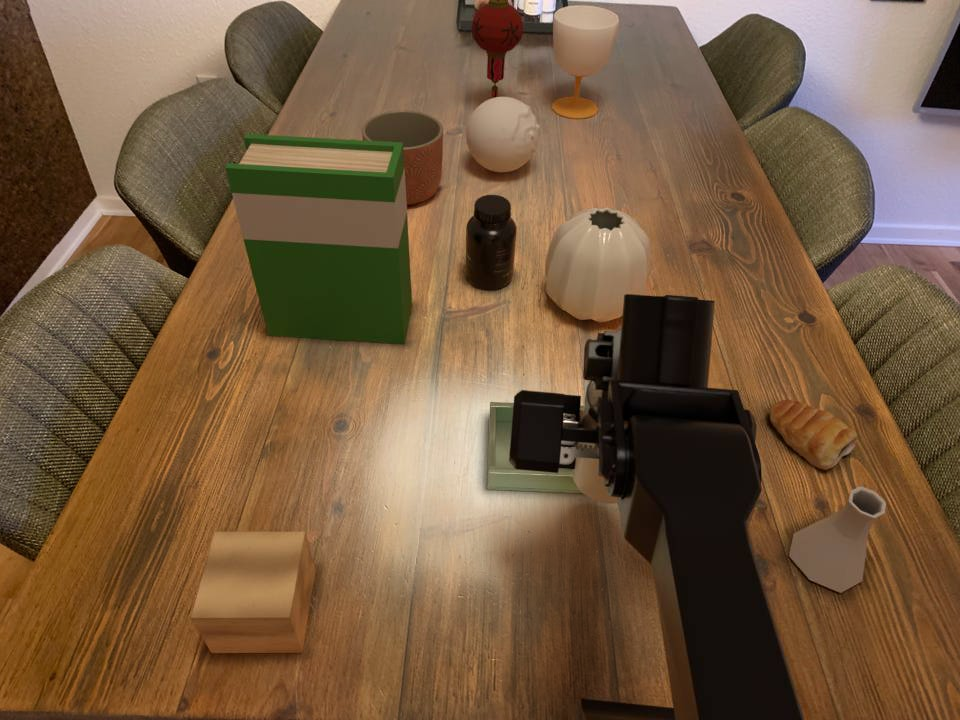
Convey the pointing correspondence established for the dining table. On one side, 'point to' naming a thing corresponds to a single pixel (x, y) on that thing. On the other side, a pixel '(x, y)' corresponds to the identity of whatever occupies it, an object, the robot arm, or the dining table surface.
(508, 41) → the lantern
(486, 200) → the supplement bottle
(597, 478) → the jar
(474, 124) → the decorative ball
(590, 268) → the vase
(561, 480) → the tray
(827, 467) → the pastry
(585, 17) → the cup
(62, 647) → the dining table surface
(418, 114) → the planter
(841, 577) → the flask
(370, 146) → the hardback book
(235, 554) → the riser
